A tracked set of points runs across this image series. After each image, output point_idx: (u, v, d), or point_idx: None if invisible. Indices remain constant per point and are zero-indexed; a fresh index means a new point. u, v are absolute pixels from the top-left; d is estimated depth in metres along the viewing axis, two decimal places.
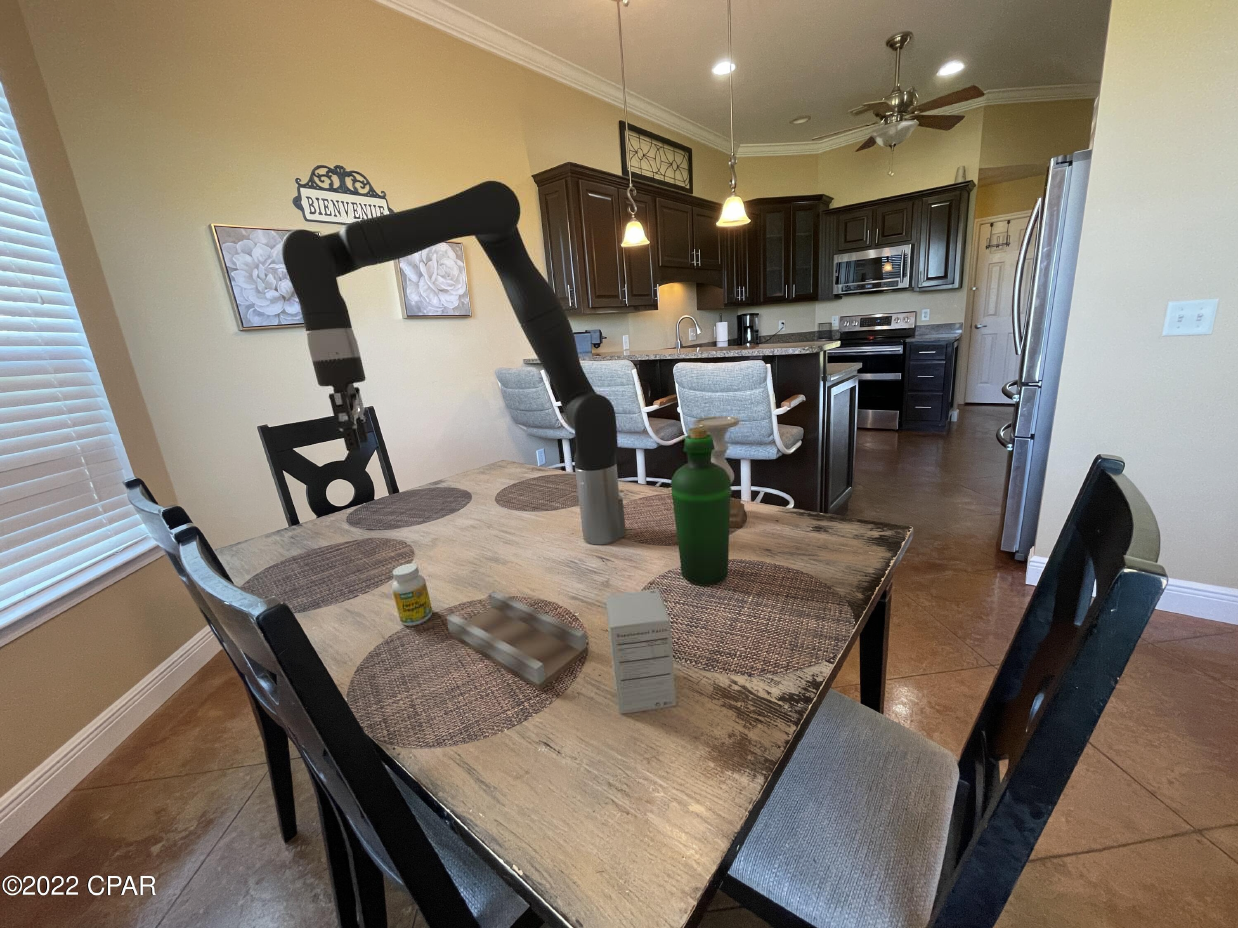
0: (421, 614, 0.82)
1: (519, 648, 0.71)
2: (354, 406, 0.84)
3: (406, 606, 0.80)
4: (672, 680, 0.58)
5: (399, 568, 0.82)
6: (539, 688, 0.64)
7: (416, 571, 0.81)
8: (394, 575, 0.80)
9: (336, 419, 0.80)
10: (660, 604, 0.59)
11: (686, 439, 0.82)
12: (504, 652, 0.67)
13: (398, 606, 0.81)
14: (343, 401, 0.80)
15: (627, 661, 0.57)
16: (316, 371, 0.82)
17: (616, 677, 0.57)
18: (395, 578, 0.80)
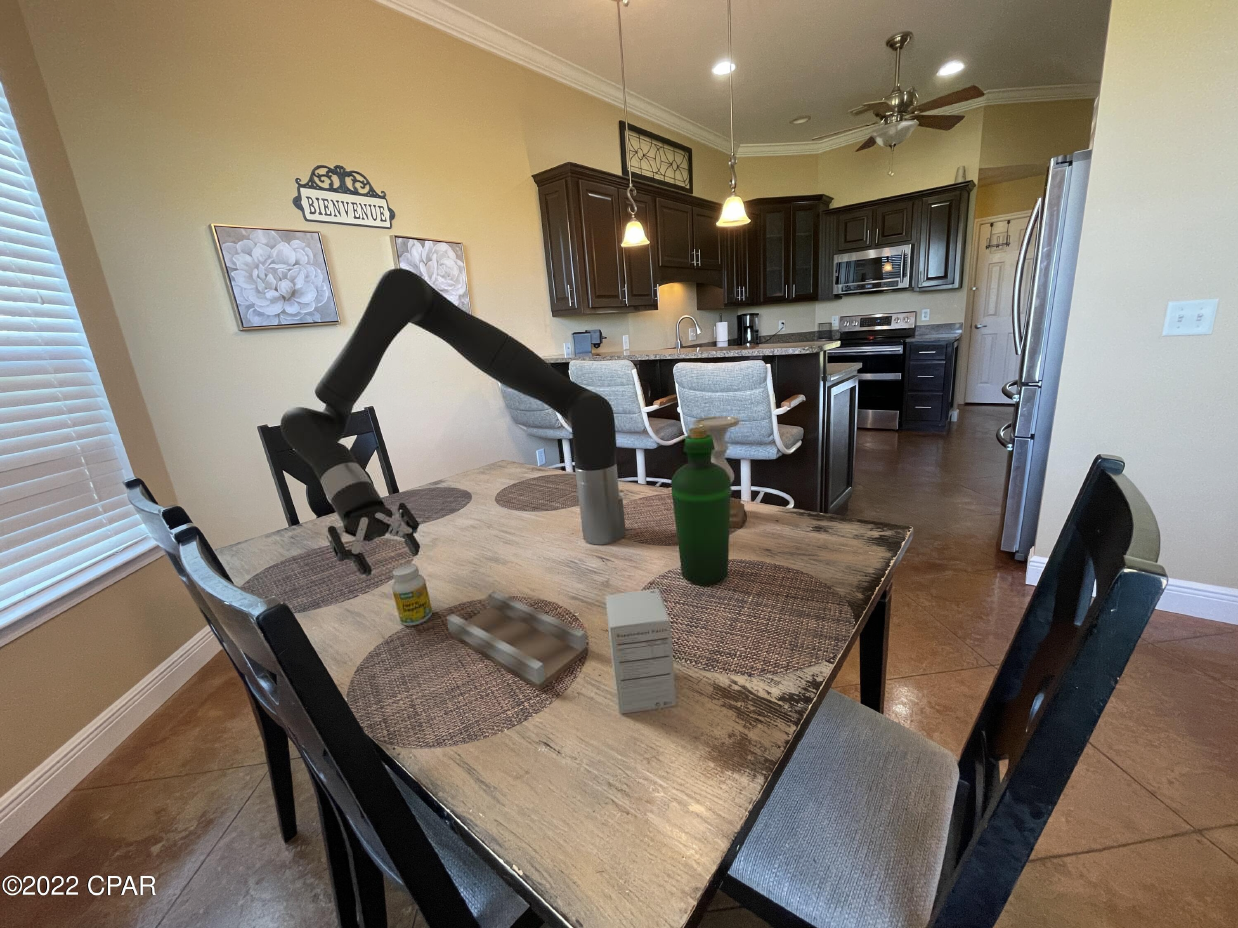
0: (421, 614, 0.82)
1: (519, 648, 0.71)
2: (357, 531, 0.83)
3: (406, 606, 0.80)
4: (672, 680, 0.58)
5: (399, 568, 0.82)
6: (539, 688, 0.64)
7: (416, 571, 0.81)
8: (394, 575, 0.80)
9: (335, 554, 0.81)
10: (660, 604, 0.59)
11: (686, 439, 0.82)
12: (504, 652, 0.67)
13: (398, 606, 0.81)
14: (329, 535, 0.81)
15: (627, 661, 0.57)
16: None
17: (616, 677, 0.57)
18: (395, 578, 0.80)
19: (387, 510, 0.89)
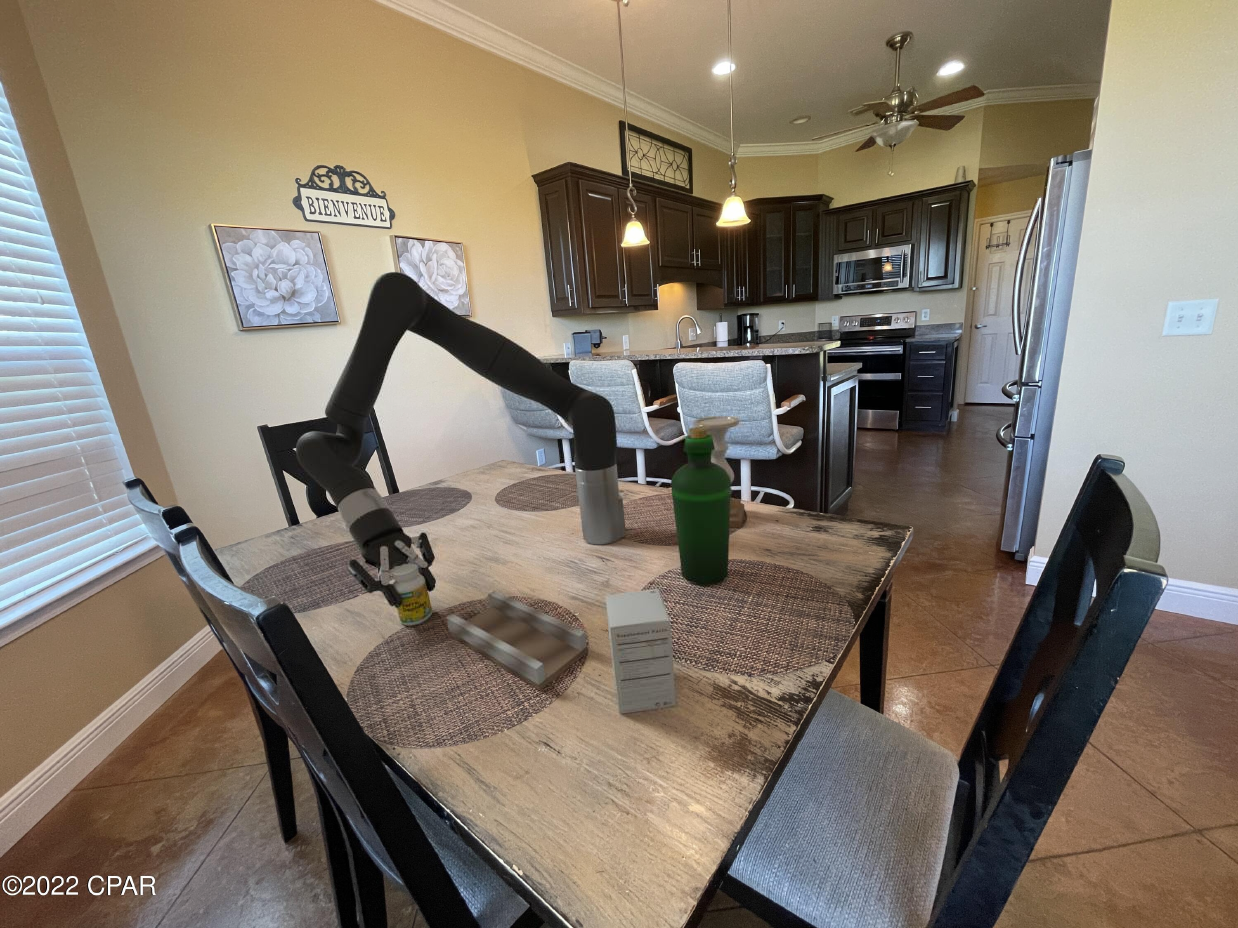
0: (421, 614, 0.82)
1: (519, 648, 0.71)
2: (380, 562, 0.81)
3: (406, 606, 0.80)
4: (672, 680, 0.58)
5: (399, 568, 0.82)
6: (539, 688, 0.64)
7: (416, 571, 0.81)
8: (394, 575, 0.80)
9: (363, 586, 0.79)
10: (660, 604, 0.59)
11: (686, 439, 0.82)
12: (504, 652, 0.67)
13: None
14: (353, 570, 0.79)
15: (627, 661, 0.57)
16: None
17: (616, 677, 0.57)
18: (395, 578, 0.80)
19: (407, 538, 0.86)
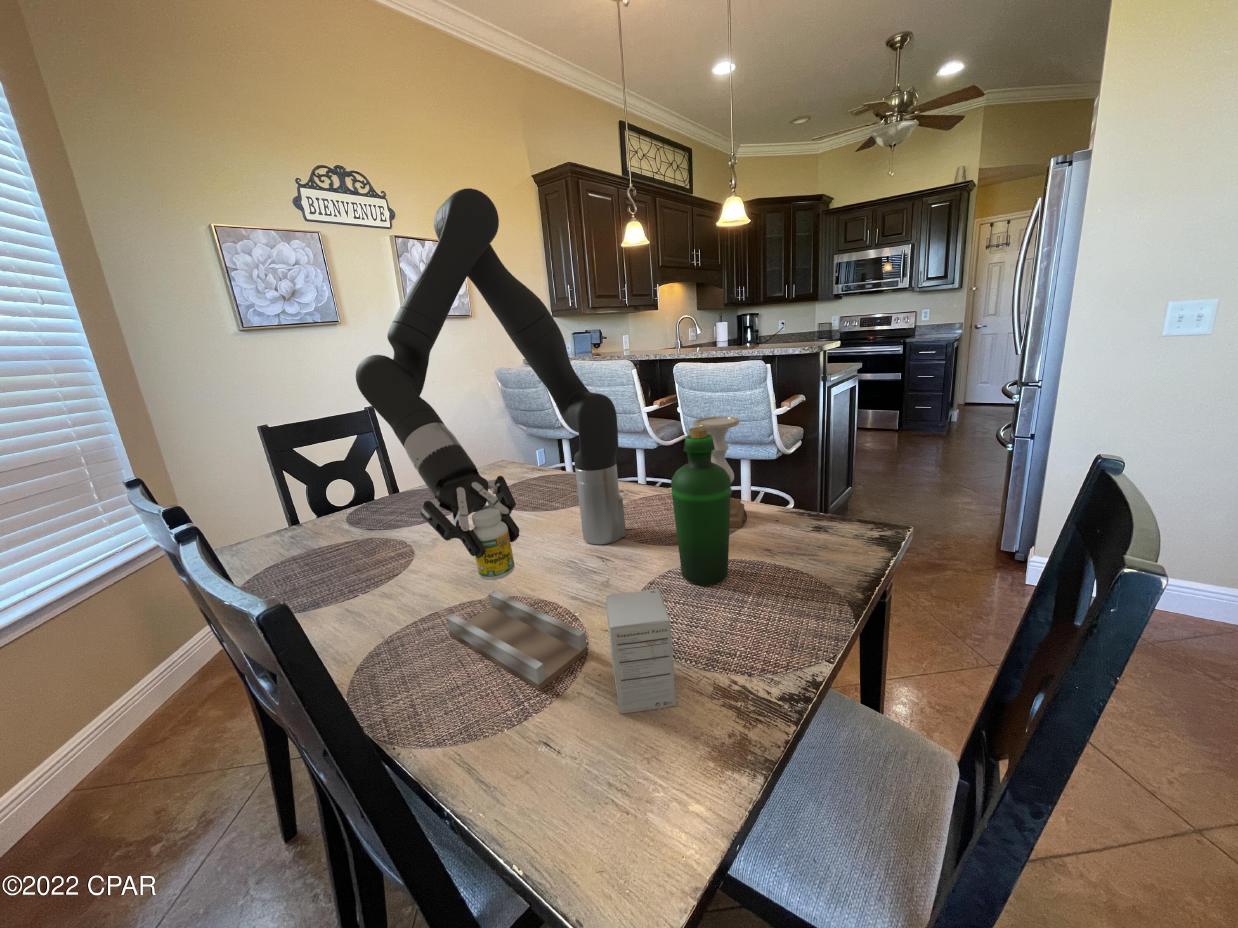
0: (505, 567, 0.69)
1: (519, 648, 0.71)
2: (457, 505, 0.68)
3: (489, 556, 0.68)
4: (672, 680, 0.58)
5: (478, 513, 0.69)
6: (539, 688, 0.64)
7: (499, 516, 0.69)
8: (474, 520, 0.68)
9: (439, 533, 0.67)
10: (660, 604, 0.59)
11: (686, 439, 0.82)
12: (504, 652, 0.67)
13: None
14: (428, 512, 0.66)
15: (627, 661, 0.57)
16: None
17: (616, 677, 0.57)
18: (476, 524, 0.68)
19: (483, 480, 0.74)
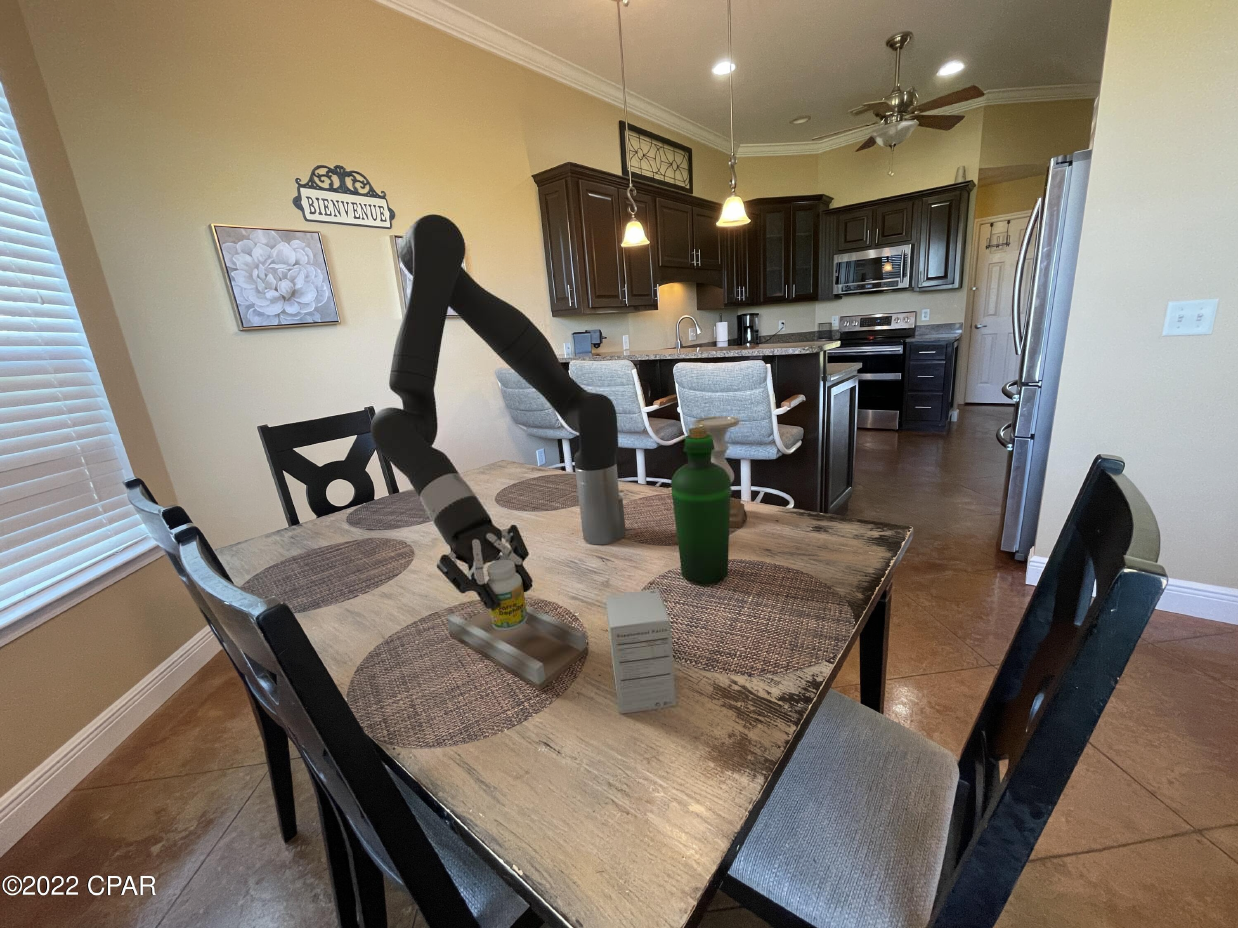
0: (519, 618, 0.71)
1: (519, 648, 0.71)
2: (473, 558, 0.70)
3: (503, 608, 0.70)
4: (672, 680, 0.58)
5: (493, 565, 0.71)
6: (539, 688, 0.64)
7: (514, 568, 0.70)
8: (490, 573, 0.69)
9: (455, 586, 0.68)
10: (660, 604, 0.59)
11: (686, 439, 0.82)
12: (504, 652, 0.67)
13: None
14: (445, 566, 0.68)
15: (627, 661, 0.57)
16: None
17: (616, 677, 0.57)
18: (491, 577, 0.69)
19: (497, 530, 0.75)
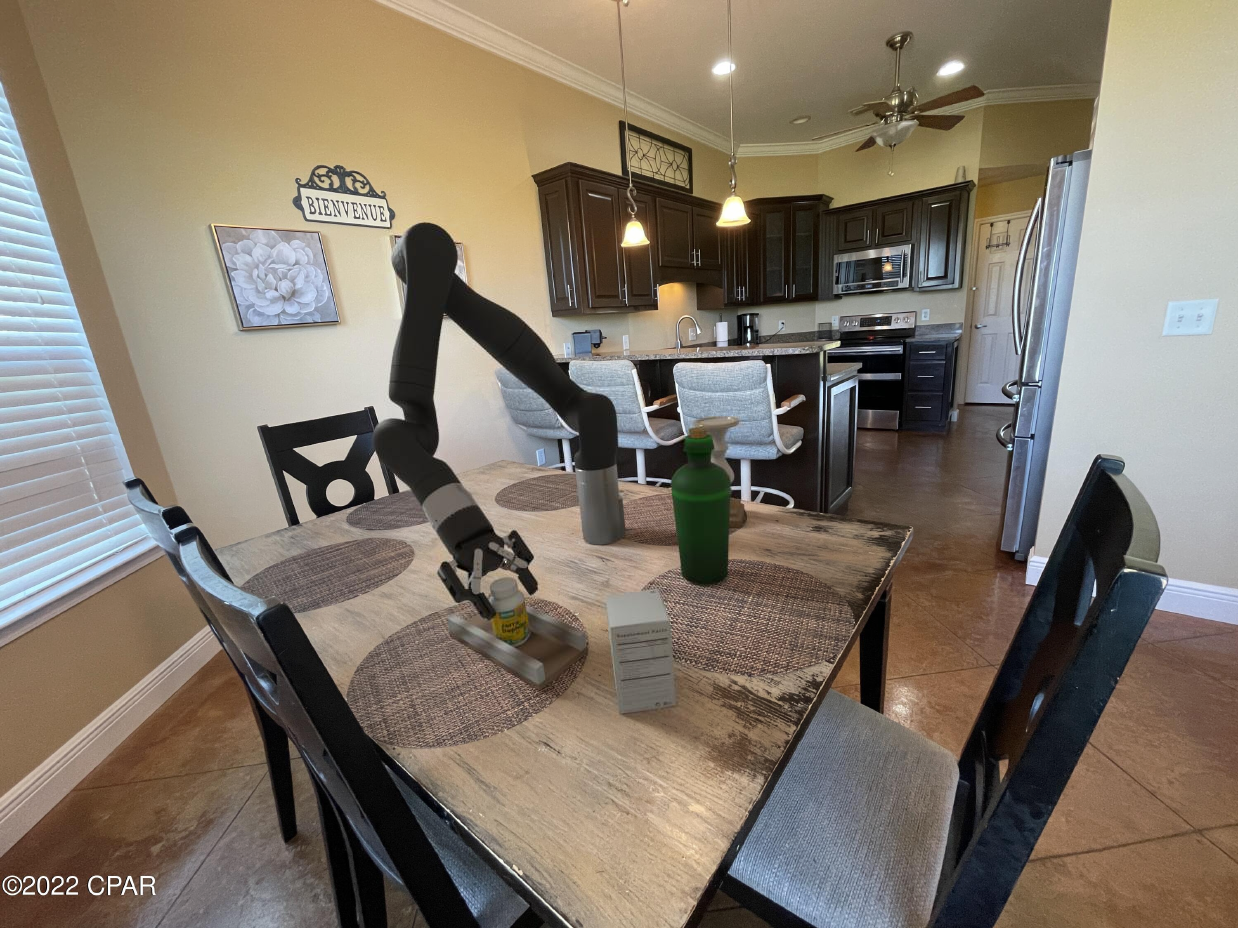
0: (522, 635, 0.72)
1: (519, 648, 0.71)
2: (473, 566, 0.70)
3: (506, 626, 0.70)
4: (672, 680, 0.58)
5: (496, 583, 0.72)
6: (539, 688, 0.64)
7: (516, 586, 0.71)
8: (493, 591, 0.70)
9: (451, 594, 0.68)
10: (660, 604, 0.59)
11: (686, 439, 0.82)
12: (504, 652, 0.67)
13: (496, 626, 0.71)
14: (444, 573, 0.68)
15: (627, 661, 0.57)
16: None
17: (616, 677, 0.57)
18: (494, 595, 0.70)
19: (499, 539, 0.76)
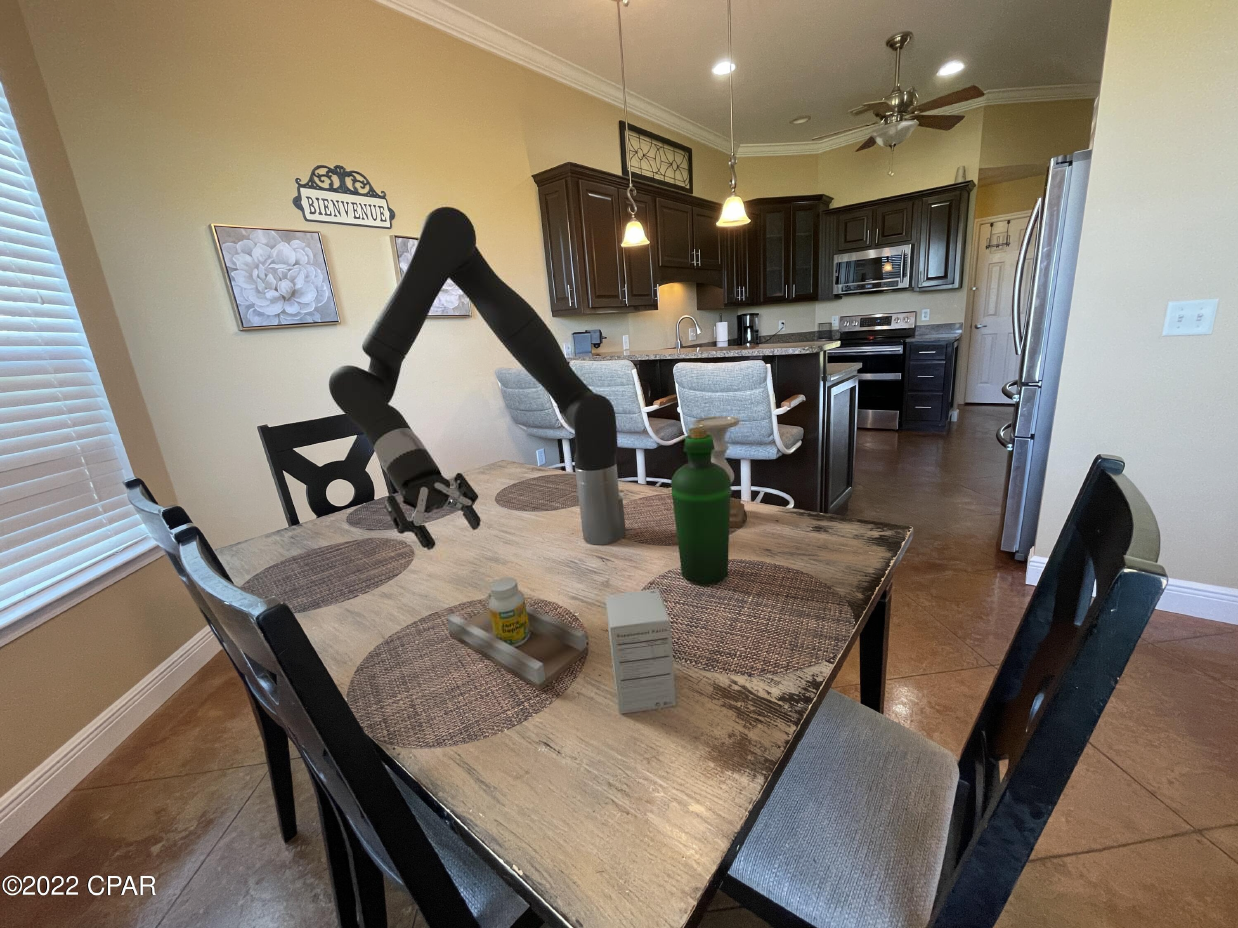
0: (522, 635, 0.72)
1: (519, 648, 0.71)
2: (417, 502, 0.77)
3: (507, 626, 0.70)
4: (672, 680, 0.58)
5: (496, 583, 0.72)
6: (539, 688, 0.64)
7: (516, 586, 0.71)
8: (493, 591, 0.70)
9: (395, 525, 0.76)
10: (660, 604, 0.59)
11: (686, 439, 0.82)
12: (504, 652, 0.67)
13: (496, 626, 0.71)
14: (389, 505, 0.75)
15: (627, 661, 0.57)
16: None
17: (616, 677, 0.57)
18: (494, 595, 0.70)
19: (445, 480, 0.83)
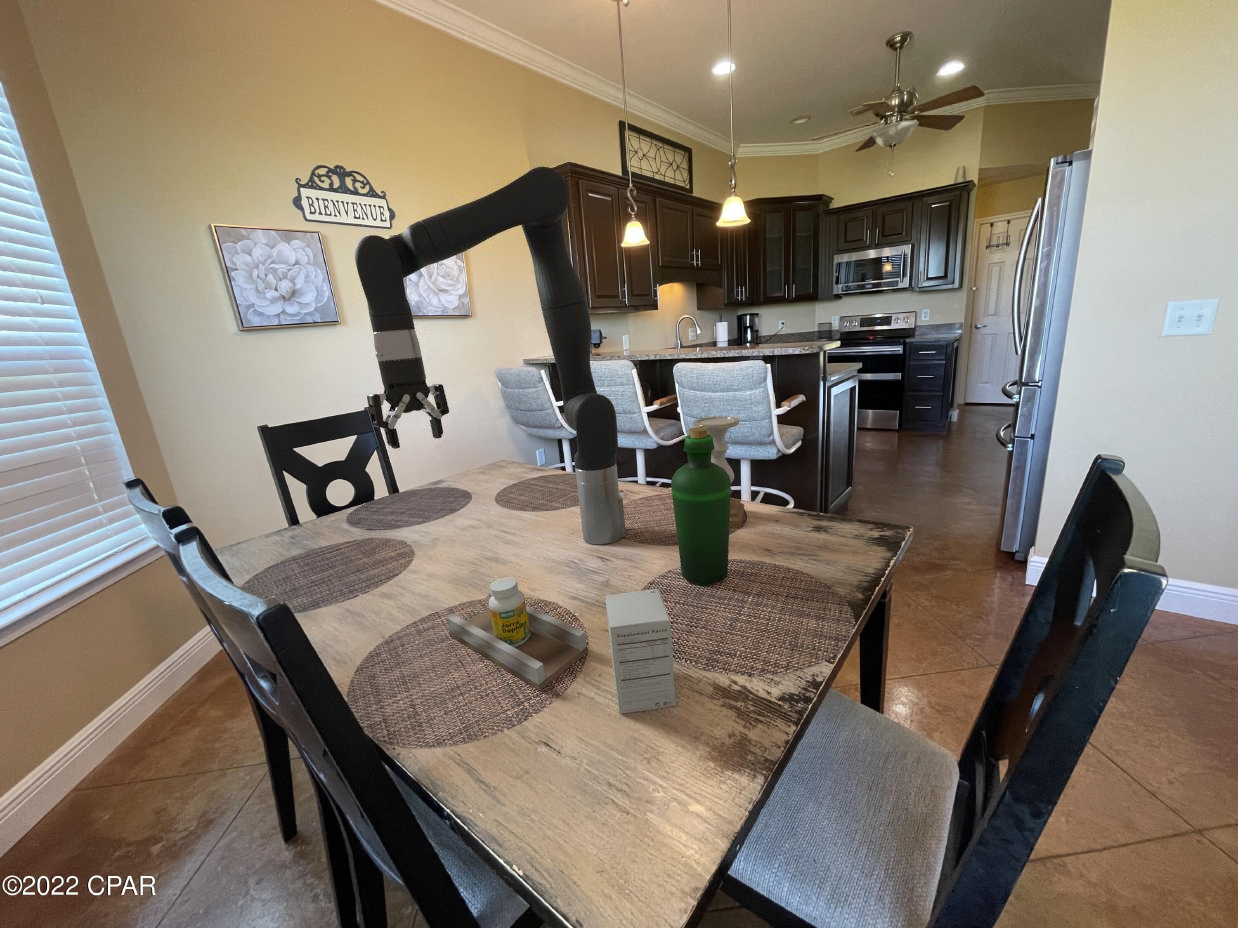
0: (522, 635, 0.72)
1: (519, 648, 0.71)
2: (397, 407, 0.87)
3: (507, 626, 0.70)
4: (672, 680, 0.58)
5: (496, 583, 0.72)
6: (539, 688, 0.64)
7: (516, 586, 0.71)
8: (493, 591, 0.70)
9: (371, 418, 0.86)
10: (660, 604, 0.59)
11: (686, 439, 0.82)
12: (504, 652, 0.67)
13: (496, 626, 0.71)
14: (372, 403, 0.84)
15: (627, 661, 0.57)
16: None
17: (616, 677, 0.57)
18: (494, 595, 0.70)
19: (426, 389, 0.91)
